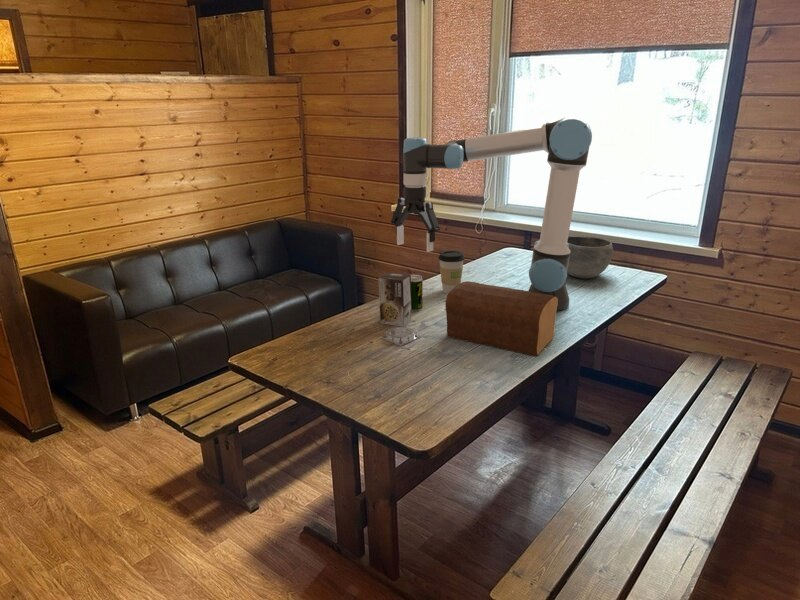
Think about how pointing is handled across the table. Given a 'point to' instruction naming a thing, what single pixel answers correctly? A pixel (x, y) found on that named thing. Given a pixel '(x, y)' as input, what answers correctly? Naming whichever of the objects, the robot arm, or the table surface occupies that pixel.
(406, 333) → the duct flange
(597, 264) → the bowl
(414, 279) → the beer can
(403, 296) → the coffee box
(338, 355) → the table surface
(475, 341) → the bread
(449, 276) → the coffee cup
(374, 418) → the table surface
